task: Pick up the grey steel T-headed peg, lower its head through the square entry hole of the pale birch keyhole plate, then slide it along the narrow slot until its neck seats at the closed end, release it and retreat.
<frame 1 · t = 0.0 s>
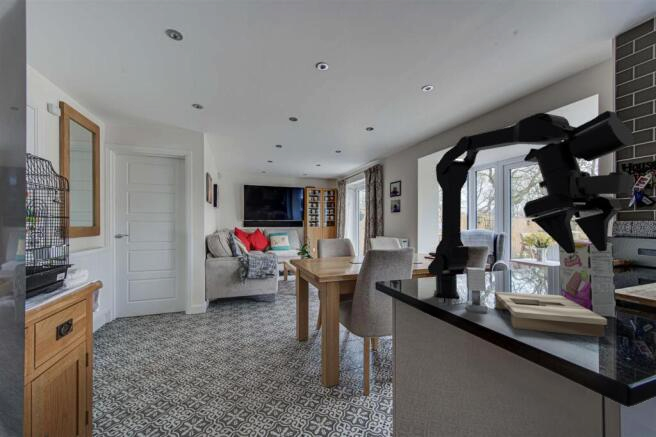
hand: (587, 252, 50), 15 cm above the countertop, tool pointing down, fingers open, 9 cm apart
candy bar box: (586, 311, 66), on the countertop
peg: (476, 309, 68), on the countertop
keyhole plate: (541, 319, 60), on the countertop
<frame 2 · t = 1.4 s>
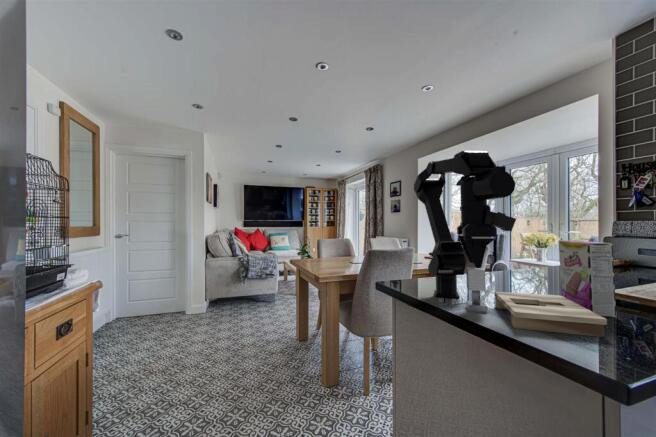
hand: (475, 265, 68), 11 cm above the countertop, tool pointing down, fingers open, 9 cm apart
nothing on the countertop moved.
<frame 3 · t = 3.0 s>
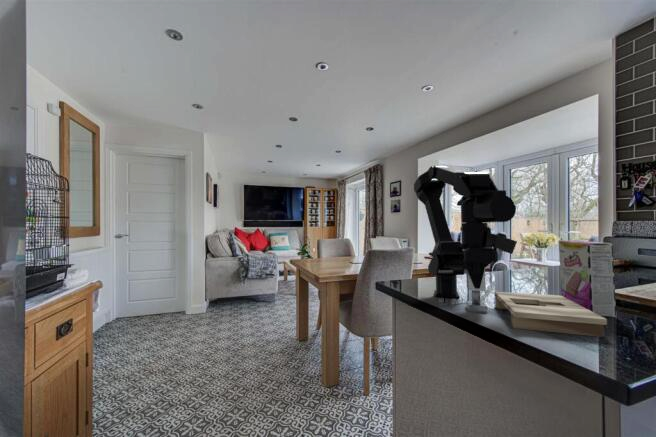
hand: (475, 286, 68), 6 cm above the countertop, tool pointing down, fingers closed on peg, 4 cm apart
peg: (476, 309, 68), on the countertop, touching gripper
everything else where it was.
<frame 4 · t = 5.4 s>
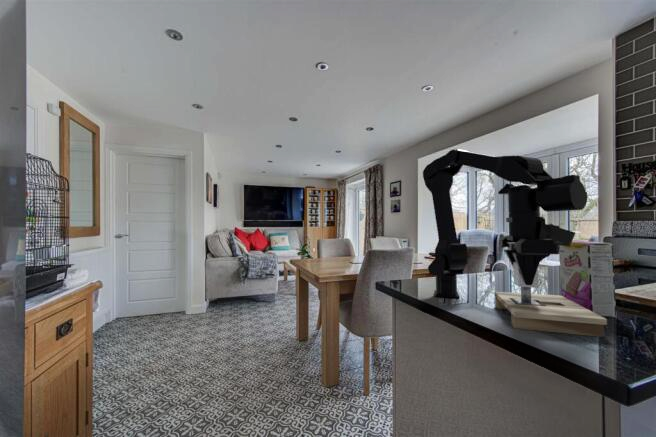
hand: (525, 283, 61), 8 cm above the countertop, tool pointing down, fingers closed on peg, 4 cm apart
peg: (526, 308, 61), point 2 cm above the countertop, touching gripper
everything else where it was.
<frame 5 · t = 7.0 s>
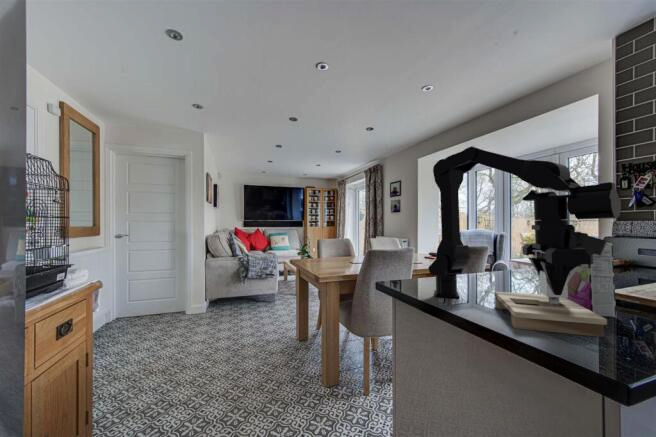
hand: (553, 292, 60), 6 cm above the countertop, tool pointing down, fingers closed on peg, 4 cm apart
peg: (554, 318, 59), resting in keyhole plate, touching gripper
everything else where it was.
when the fingers open (6 cm above the countertop, at t = 8.1 s): peg stays where it is, resting in keyhole plate.
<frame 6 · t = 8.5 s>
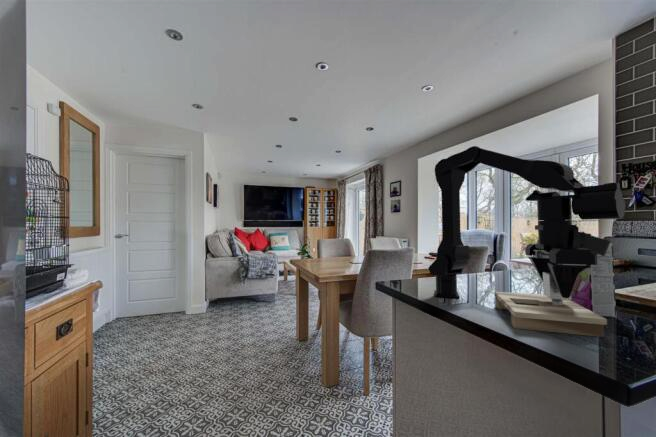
hand: (557, 293, 59), 6 cm above the countertop, tool pointing down, fingers open, 8 cm apart
peg: (557, 320, 59), resting in keyhole plate
everything else where it was.
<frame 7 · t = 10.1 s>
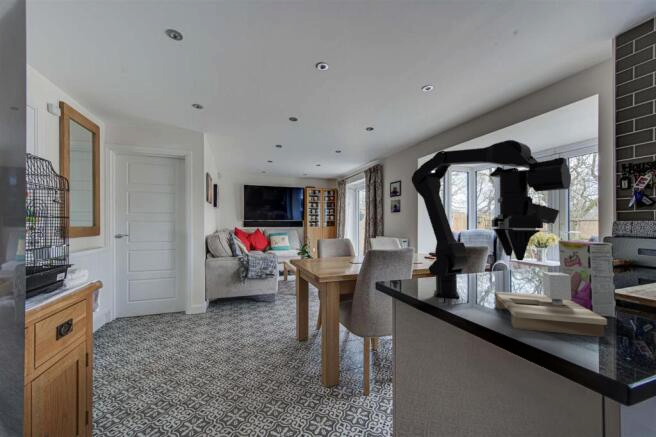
hand: (514, 257, 67), 13 cm above the countertop, tool pointing down, fingers open, 9 cm apart
nothing on the countertop moved.
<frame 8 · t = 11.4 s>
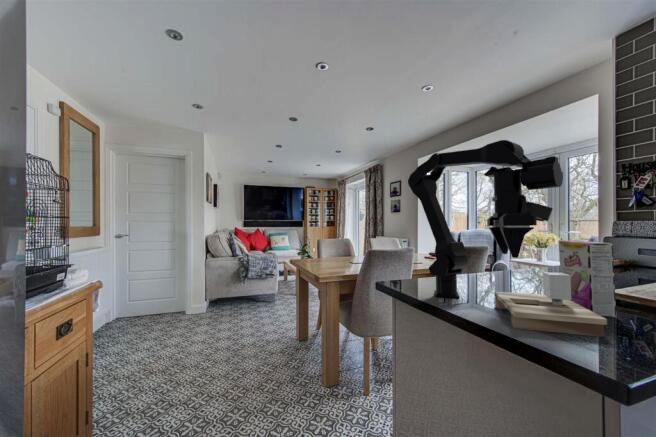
hand: (509, 255, 68), 13 cm above the countertop, tool pointing down, fingers open, 9 cm apart
nothing on the countertop moved.
at the end: peg 0.1 cm from the target spot on the keyhole plate, point 0.0 cm above the keyhole plate's base; the gripper is holding nothing; peg tilted 0° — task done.
